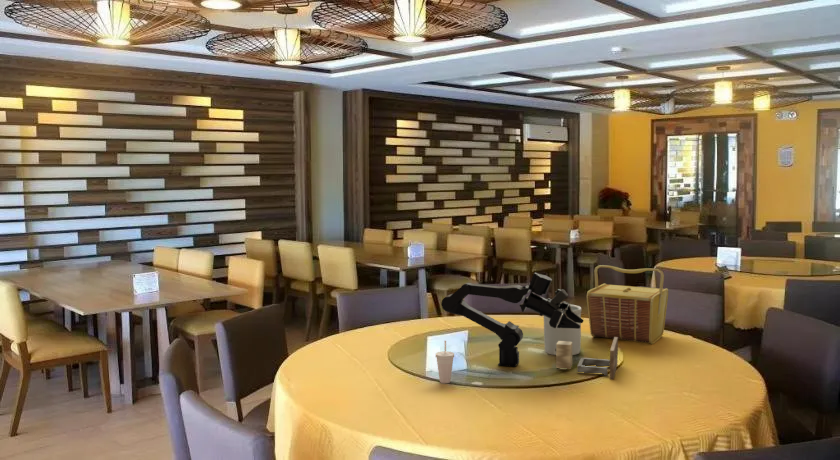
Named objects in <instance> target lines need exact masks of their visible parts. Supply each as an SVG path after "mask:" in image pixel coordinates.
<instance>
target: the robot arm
mask: <svg viewBox="0 0 840 460" xmlns="http://www.w3.org/2000/svg"><path fill="white" fill-rule="evenodd" d="M552 281H553V279H552V278H551V277H549V276H548V275H546V274H542V273H538V272H534V273H533V274H532V278H531V280H530V282H529V284H527V285H524V286H522V285H519V284H513V285H504V286H503V285H502V286H497V285H489V284H479V283H472V282H466V283H463V284H462V285H461V287H460V288H458V289H456V290H455V292H454V293H451V294H448V295H446V296H445V297H443V299H442V300H441V302H440V303H441V309H442V310H444V311H445V312H448V313H450V314H453V315H457V316H463V318H466V319H468V320H469V321H471V322H474V323H475V324H477V325H479V326H481V327H483V328H485V329H486V330H488V331H490V332H492V333H494V334H496V336H498V338H499V339H500V340H501V341H500V342H499V343H498V344H497V345H498V351H499V352H498V355H499V358H498V363H497V365H498V367H499V366H501V367H513V368H514V367H517V365H518V364H519V363H520V351H518V350H519V349H518V348H519V347H518V345H519V343H520V342H521V341H522V340H523V337H524V333H523V330H522V329H521V328H520V327H519V326H520V325H517V324H514V323H513V322H512V321H510V320H509V321H508V322H507V323H503V322H500V321H498V320H496V319H494V318H493V317H491V316H490V315H487V314H486V313H483V312H482V311H480V310H478V309H476V308H474V307H472V306H470V305H469V304H468V303H467V302H466V301H465V300H464V299H465V298H466V297H467V296H468V295H471V296H479V297H481V296H482V297H487V298H488V297H489V298H498V299H501V300H503V301H505V302H509V303H512V304H518V303H520V302H521V301H523V302H522V303H520V304H519V307H520V309H521V310H520V311H521V312H522V313H524V312H525V311H526V309H528V310H531V311H533V312H534V313H535V312H536V313H538V314H539V316H541V317H544V316H546V317H548V318H550V321H549V324H550V326H551V327H553V328H556V326H557V324H558V326H557V328H575V329H579V328H580V325H579V324H577V323H581V324H583V323H584V319H583V318H582V317H581V318H580V317H579V316H578V315H576V314H575V313H574V312H573V311H572V310H571V307H570V305H571V304H570V302H568V301H565V300H566V299H567V298H568V296H569V294H568V292H566V290H565V289H563V288H562V289H559V288H557V290H556V291H554V293H555V296H554V297H553V298H549V297H548V298H545V297H542V296H543V295H546V294H547V292H548V291H549V288H550V286H551V283H552ZM528 293H529V295H528ZM527 295H528V296H527ZM569 304H570V305H569ZM568 305H569V306H568ZM567 307H568V308H567ZM576 322H577V323H576Z"/></svg>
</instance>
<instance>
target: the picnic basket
mask: <svg viewBox="0 0 840 460" xmlns="http://www.w3.org/2000/svg"><path fill="white" fill-rule="evenodd" d="M600 268H606V269H611V270H613V271H616V272H618V273H624V274H641V273H644V272H647V271H648V272H658V273H659V274H660V279H659V288H655V287H645V286H631V285H619V284H618V285H617V284H607V283H602V284H600V285H599V276H598V271H599V270H598V269H600ZM593 272H594V273H593V275H594V287H593V288H591V289H589V290H588V291H587V293H586V303H587V304H586V305H587V314H588V315H587V316H588V322H589V331H590V336H592V337H593V338H596V337H598V338H606V339H613V340H614V337H618V340H622V341H631V342H638V343H646V344H650V345H654V344H655V343H656V342H658V340H660V339H661V338H662V336H663V335H664V330H665V326H666V325H665V324H666V318H667V316H666V315H667V309H668V299H669V289H668V288H664V281H665V274H664V272H663V270H661V269H660V268H659V269H658V268H653V267H652V268H648V267H646V268H645V267H644V268H637V269H625V268H620V267H618V266H613V265H606V264H605V265H604V264H602V265H601V264H600V265H597V266H596V267H594V271H593Z"/></svg>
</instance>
